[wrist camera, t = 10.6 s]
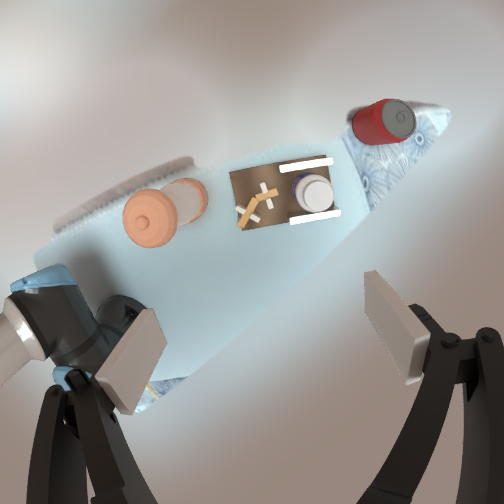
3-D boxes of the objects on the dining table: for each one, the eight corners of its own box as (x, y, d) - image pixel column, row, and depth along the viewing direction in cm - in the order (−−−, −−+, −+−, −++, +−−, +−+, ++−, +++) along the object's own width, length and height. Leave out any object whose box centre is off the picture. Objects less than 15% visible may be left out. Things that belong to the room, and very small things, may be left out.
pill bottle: (290, 172, 42) (297, 175, 33) (323, 172, 42) (338, 174, 32) (291, 205, 44) (298, 217, 35) (324, 204, 43) (338, 216, 34)
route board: (242, 229, 47) (242, 230, 46) (229, 172, 44) (229, 172, 43) (334, 212, 45) (335, 213, 44) (324, 155, 42) (325, 155, 41)
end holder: (288, 219, 45) (290, 224, 41) (278, 165, 42) (279, 165, 38) (334, 211, 44) (341, 215, 40) (326, 157, 41) (332, 157, 37)
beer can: (391, 134, 40) (427, 128, 28) (365, 152, 41) (396, 151, 30) (371, 103, 38) (401, 88, 27) (343, 120, 40) (369, 108, 28)
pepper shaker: (160, 196, 45) (101, 219, 27) (190, 169, 44) (141, 176, 25) (185, 227, 47) (139, 268, 29) (216, 202, 45) (184, 229, 27)
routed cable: (238, 227, 45) (237, 231, 43) (229, 188, 43) (227, 189, 41) (283, 219, 45) (284, 222, 42) (275, 179, 43) (276, 180, 40)
